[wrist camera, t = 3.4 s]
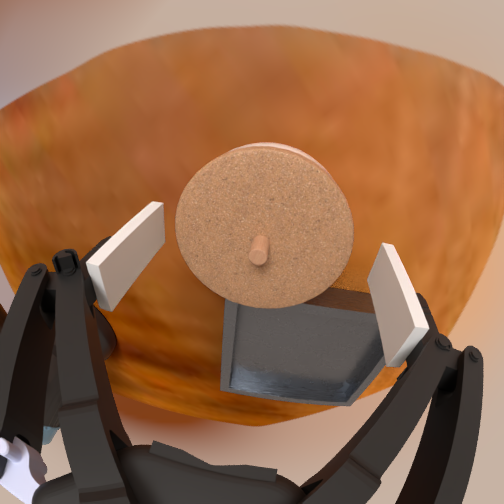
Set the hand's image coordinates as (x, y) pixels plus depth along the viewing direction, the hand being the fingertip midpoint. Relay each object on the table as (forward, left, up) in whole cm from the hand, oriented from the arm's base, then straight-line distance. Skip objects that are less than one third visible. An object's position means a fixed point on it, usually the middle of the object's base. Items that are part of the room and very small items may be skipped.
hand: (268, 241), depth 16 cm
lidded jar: (0, 0, -8) cm, 8 cm away
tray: (+7, -18, -8) cm, 21 cm away
